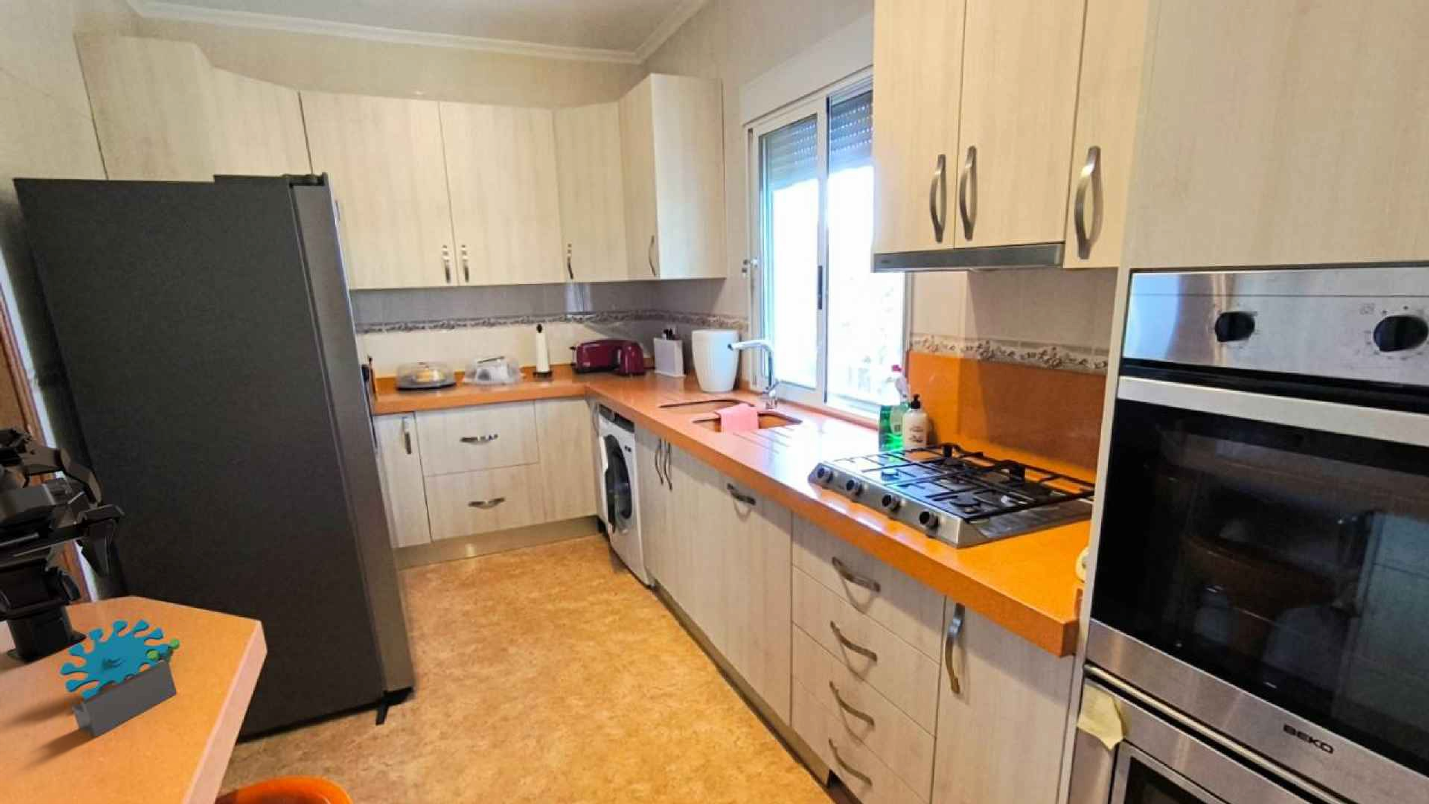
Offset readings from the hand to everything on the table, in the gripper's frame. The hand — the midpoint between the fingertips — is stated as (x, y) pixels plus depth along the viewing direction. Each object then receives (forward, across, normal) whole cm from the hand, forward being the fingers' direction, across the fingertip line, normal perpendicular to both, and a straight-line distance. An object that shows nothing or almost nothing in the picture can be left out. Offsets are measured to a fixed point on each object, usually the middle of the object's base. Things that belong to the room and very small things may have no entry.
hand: (59, 592), depth 78 cm
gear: (+14, +2, +5) cm, 15 cm away
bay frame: (+19, -1, +1) cm, 19 cm away
